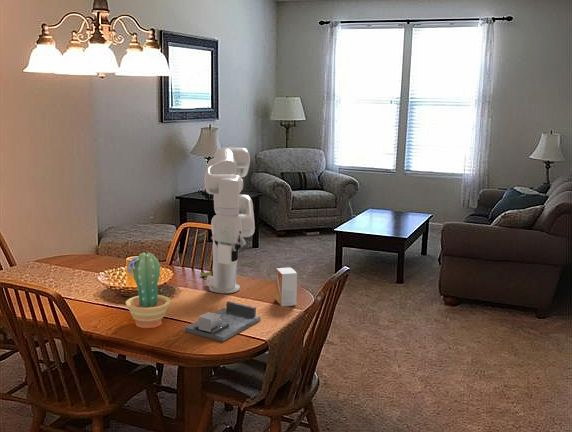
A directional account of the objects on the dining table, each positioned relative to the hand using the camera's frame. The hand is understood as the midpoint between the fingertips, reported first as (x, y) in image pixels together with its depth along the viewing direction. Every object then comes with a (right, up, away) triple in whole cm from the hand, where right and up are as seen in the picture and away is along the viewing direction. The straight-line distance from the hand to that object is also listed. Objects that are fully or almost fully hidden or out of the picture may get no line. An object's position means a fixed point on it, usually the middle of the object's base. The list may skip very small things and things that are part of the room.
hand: (228, 259), depth 232 cm
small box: (+21, -18, +12) cm, 30 cm away
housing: (0, -1, 0) cm, 1 cm away
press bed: (0, -22, -14) cm, 26 cm away
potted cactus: (-27, -22, -14) cm, 37 cm away
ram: (-4, -22, -20) cm, 30 cm away
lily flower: (-11, -11, +43) cm, 46 cm away
